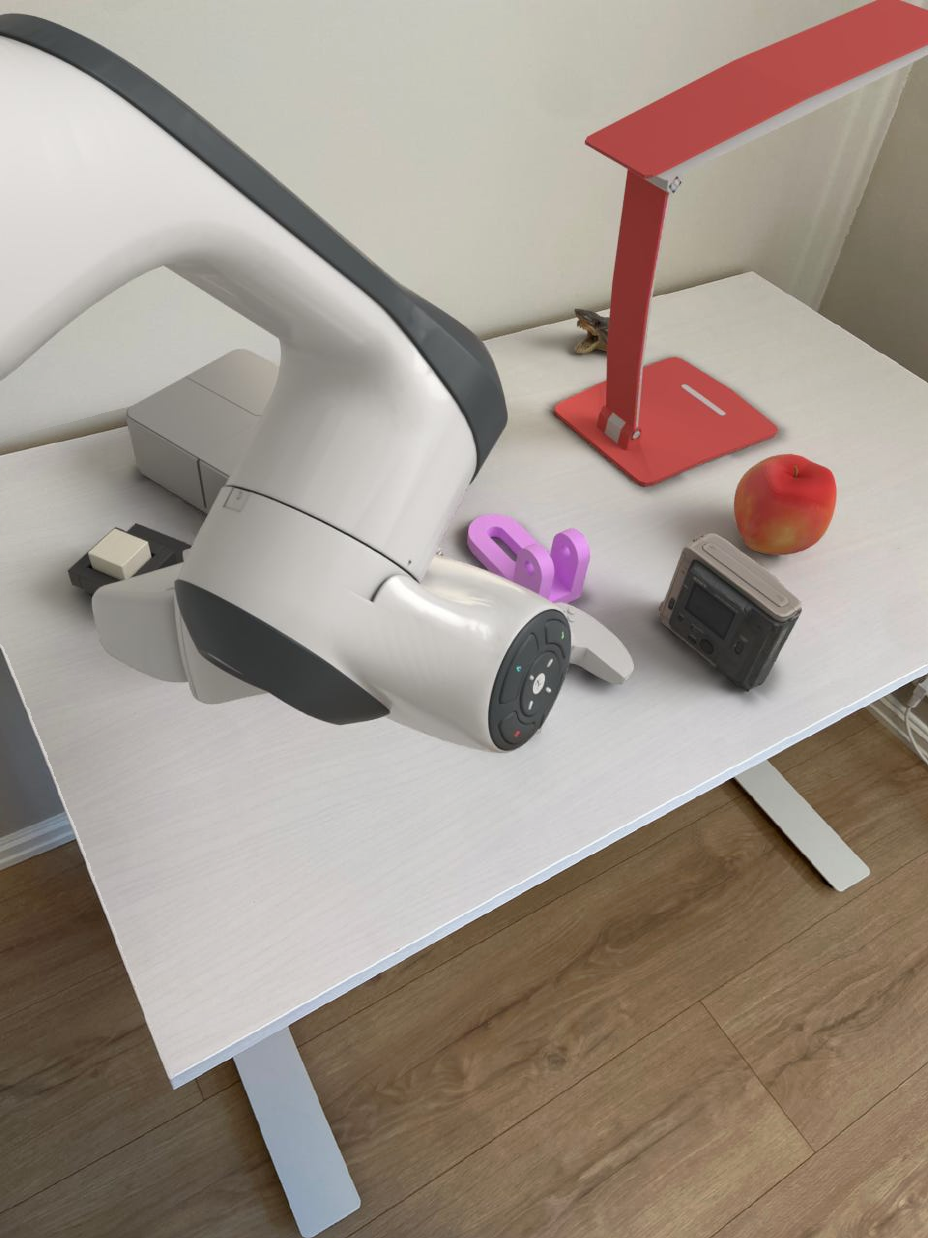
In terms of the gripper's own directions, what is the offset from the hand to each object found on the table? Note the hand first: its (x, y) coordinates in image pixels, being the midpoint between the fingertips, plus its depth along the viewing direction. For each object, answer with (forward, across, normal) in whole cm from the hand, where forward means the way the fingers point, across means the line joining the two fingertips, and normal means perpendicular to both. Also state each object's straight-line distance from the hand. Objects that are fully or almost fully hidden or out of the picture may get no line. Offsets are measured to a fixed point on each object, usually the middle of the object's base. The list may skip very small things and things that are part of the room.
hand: (202, 555), depth 62 cm
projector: (+28, -23, +4) cm, 36 cm away
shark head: (+21, -69, -4) cm, 72 cm away
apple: (-11, -57, +13) cm, 60 cm away
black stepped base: (+23, -7, +10) cm, 26 cm away
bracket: (+4, -35, +12) cm, 37 cm away
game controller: (-6, -27, +18) cm, 33 cm away
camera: (-14, -41, +18) cm, 47 cm away
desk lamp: (+7, -68, +3) cm, 68 cm away
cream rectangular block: (+23, -4, +7) cm, 24 cm away
